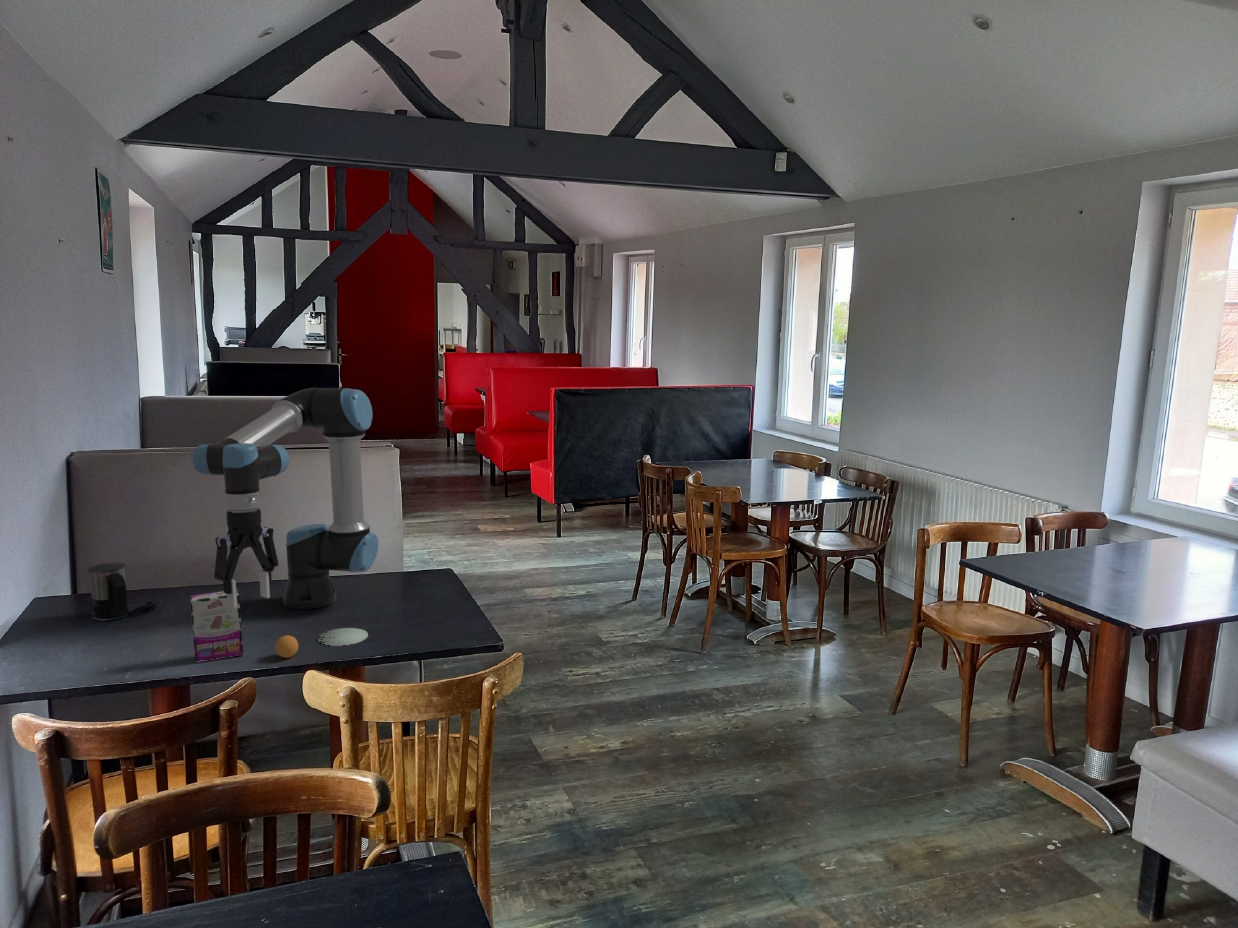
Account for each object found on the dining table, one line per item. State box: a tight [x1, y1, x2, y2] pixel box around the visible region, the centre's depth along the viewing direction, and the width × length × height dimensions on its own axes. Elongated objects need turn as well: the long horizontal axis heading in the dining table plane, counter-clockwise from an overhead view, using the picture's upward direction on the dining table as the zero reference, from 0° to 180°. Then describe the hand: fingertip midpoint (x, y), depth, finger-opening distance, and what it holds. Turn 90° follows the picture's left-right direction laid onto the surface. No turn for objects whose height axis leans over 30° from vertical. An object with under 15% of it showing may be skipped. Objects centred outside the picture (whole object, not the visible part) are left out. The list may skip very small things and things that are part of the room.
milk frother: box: [87, 562, 162, 619], centre depth 249 cm, size 14×16×15 cm
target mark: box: [317, 627, 369, 647], centre depth 234 cm, size 13×13×1 cm
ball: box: [274, 634, 299, 659], centre depth 220 cm, size 6×6×6 cm
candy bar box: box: [189, 589, 244, 661], centre depth 219 cm, size 11×5×16 cm, turn 117°
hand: (249, 601), depth 210 cm, fingers open, 8 cm apart
